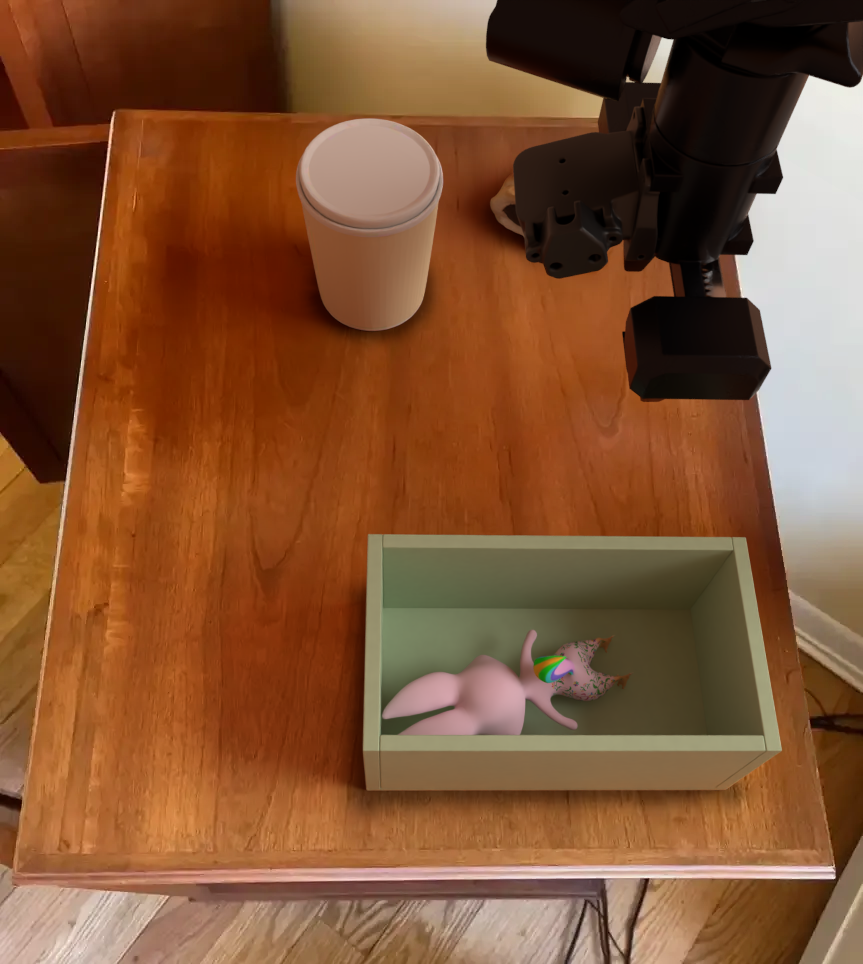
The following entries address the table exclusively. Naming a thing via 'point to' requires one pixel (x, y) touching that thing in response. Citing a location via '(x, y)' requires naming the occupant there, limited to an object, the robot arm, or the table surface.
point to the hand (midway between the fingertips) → (640, 332)
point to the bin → (559, 620)
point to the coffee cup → (370, 219)
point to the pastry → (506, 206)
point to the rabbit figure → (503, 691)
